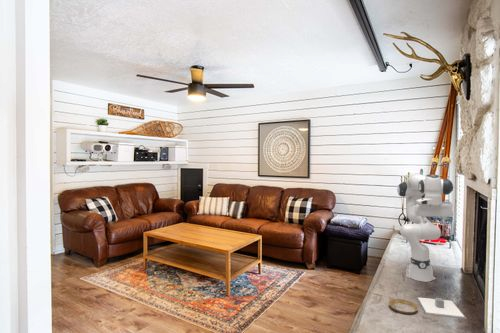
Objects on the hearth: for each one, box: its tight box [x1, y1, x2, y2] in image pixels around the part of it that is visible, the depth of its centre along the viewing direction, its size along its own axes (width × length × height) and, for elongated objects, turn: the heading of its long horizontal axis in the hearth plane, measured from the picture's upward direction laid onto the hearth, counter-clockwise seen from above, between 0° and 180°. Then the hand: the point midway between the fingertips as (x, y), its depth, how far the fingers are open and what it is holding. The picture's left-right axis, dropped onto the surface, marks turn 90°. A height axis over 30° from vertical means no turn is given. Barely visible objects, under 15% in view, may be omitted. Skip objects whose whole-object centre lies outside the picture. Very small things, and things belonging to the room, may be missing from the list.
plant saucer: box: [388, 298, 419, 315], centre depth 166 cm, size 15×15×3 cm
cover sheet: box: [417, 297, 465, 319], centre depth 166 cm, size 18×18×5 cm
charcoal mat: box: [415, 296, 468, 320], centre depth 166 cm, size 20×20×1 cm
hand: (433, 223), depth 176 cm, fingers open, 8 cm apart
